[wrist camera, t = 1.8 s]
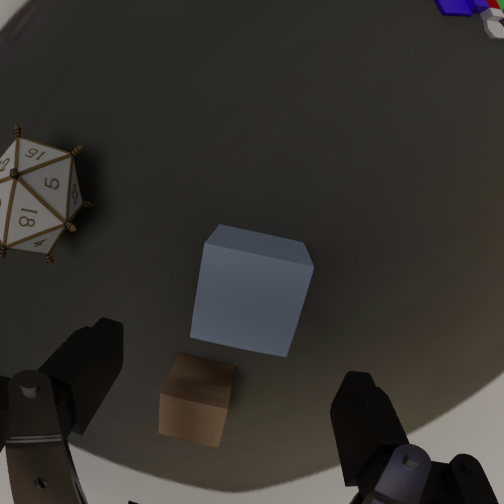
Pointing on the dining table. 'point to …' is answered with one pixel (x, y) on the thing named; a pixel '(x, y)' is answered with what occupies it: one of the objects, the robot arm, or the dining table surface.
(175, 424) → the walnut block
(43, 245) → the game die
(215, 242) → the blue block
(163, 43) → the dining table surface
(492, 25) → the building block set
